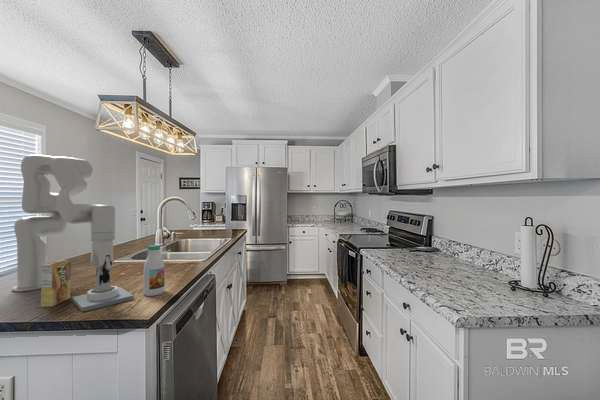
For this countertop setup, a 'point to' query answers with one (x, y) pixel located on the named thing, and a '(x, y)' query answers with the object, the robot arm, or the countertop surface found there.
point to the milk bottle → (153, 272)
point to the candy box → (55, 282)
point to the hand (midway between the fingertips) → (102, 283)
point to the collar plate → (101, 303)
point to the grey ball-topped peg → (104, 286)
